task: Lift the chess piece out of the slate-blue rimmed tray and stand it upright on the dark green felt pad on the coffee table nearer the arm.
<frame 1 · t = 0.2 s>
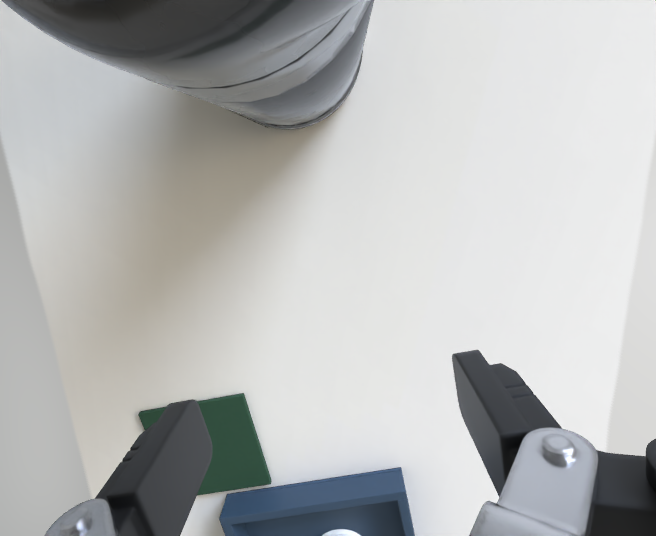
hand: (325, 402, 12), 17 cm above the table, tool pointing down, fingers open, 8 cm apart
pad: (207, 446, 34), on the table
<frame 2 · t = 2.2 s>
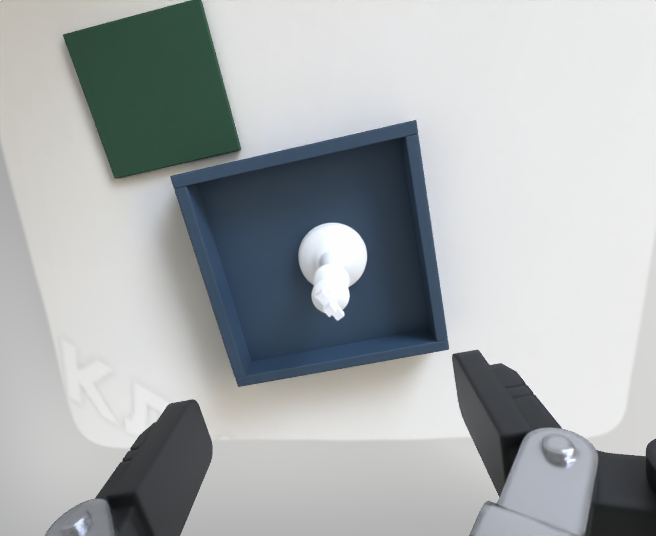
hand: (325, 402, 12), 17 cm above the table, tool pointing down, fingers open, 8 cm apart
pad: (156, 94, 26), on the table
tray: (319, 258, 29), on the table
chess piece: (332, 255, 29), resting on tray
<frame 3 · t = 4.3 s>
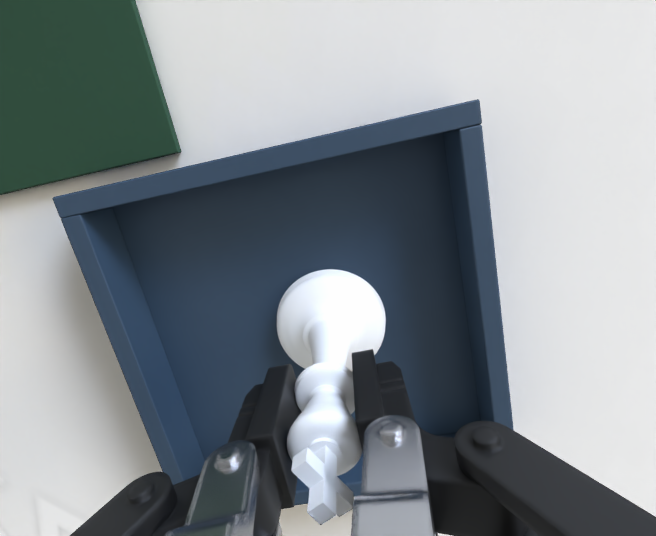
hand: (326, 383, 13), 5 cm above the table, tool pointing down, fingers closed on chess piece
pad: (38, 61, 16), on the table
tray: (310, 322, 18), on the table
chess piece: (331, 319, 18), resting on tray, touching gripper
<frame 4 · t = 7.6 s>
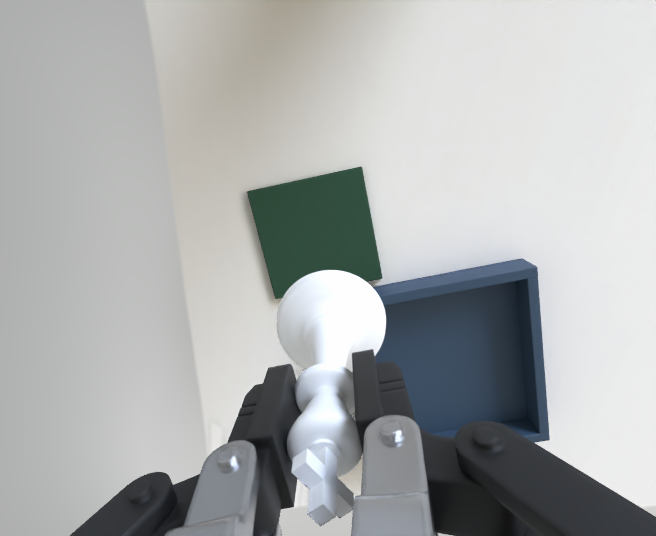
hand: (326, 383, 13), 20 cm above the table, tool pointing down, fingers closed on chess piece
pad: (316, 235, 32), on the table
tray: (438, 360, 35), on the table
chess piece: (331, 319, 18), point 14 cm above the table, touching gripper
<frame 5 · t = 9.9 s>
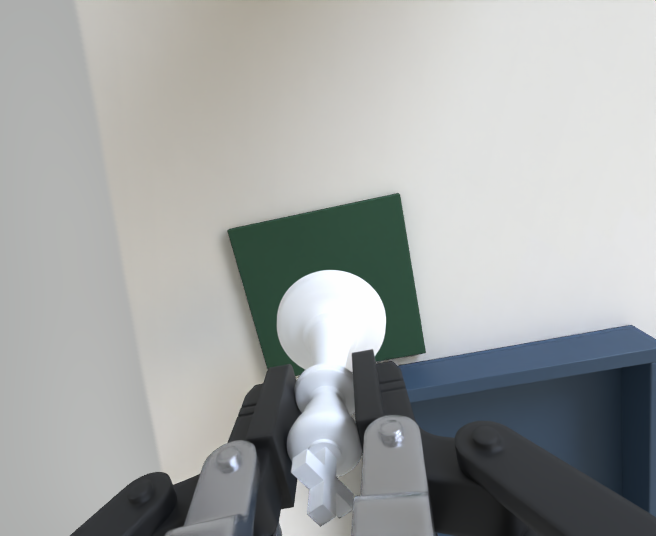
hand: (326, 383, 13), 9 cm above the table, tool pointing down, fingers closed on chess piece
pad: (330, 291, 22), on the table
tray: (500, 461, 25), on the table
chess piece: (331, 319, 18), point 4 cm above the table, touching gripper
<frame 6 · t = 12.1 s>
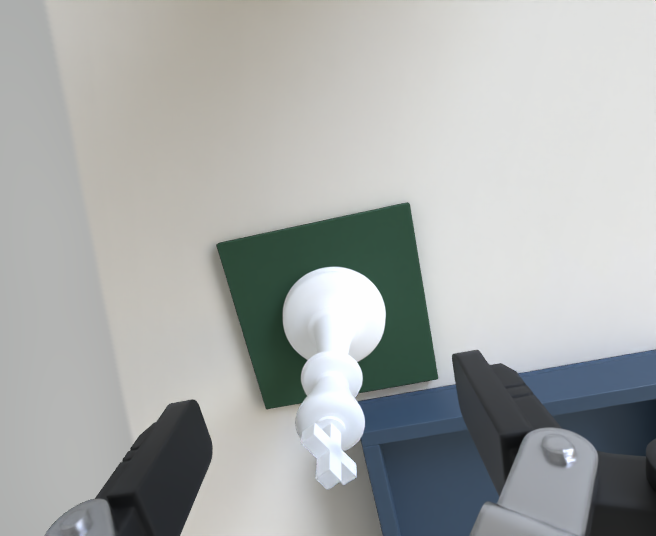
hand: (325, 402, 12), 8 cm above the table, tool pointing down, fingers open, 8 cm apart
pad: (332, 311, 19), on the table
tray: (520, 496, 22), on the table
chess piece: (334, 314, 19), resting on pad
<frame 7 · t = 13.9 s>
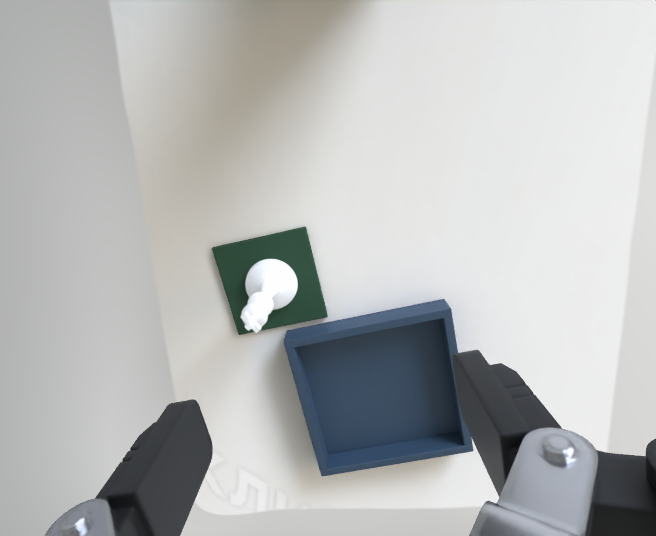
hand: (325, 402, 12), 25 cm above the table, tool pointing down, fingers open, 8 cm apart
pad: (271, 282, 38), on the table
tray: (379, 384, 41), on the table
chess piece: (272, 283, 38), resting on pad
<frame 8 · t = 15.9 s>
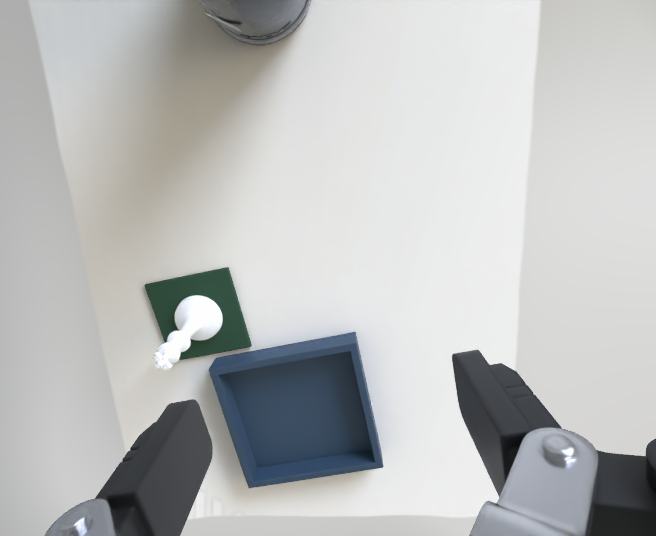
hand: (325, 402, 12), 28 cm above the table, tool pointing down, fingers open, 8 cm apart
pad: (199, 315, 42), on the table
tray: (301, 406, 45), on the table
chess piece: (200, 316, 42), resting on pad
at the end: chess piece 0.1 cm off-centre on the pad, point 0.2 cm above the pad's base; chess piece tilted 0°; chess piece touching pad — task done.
